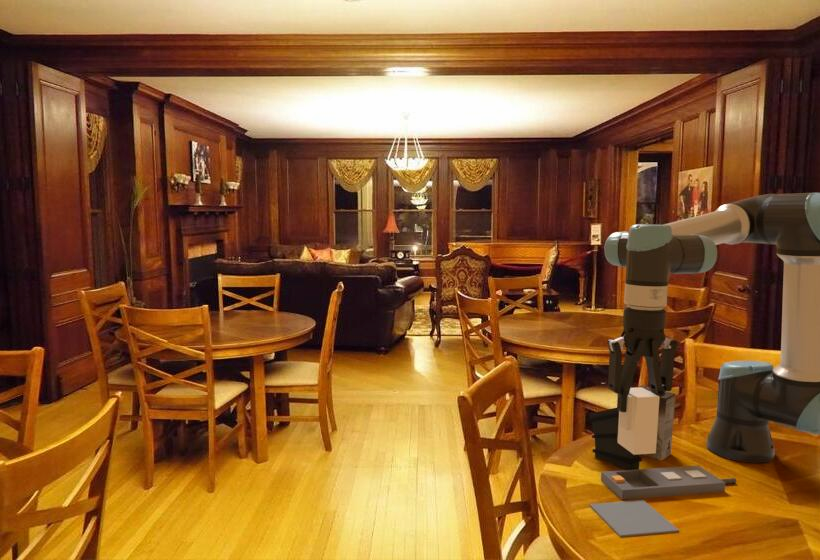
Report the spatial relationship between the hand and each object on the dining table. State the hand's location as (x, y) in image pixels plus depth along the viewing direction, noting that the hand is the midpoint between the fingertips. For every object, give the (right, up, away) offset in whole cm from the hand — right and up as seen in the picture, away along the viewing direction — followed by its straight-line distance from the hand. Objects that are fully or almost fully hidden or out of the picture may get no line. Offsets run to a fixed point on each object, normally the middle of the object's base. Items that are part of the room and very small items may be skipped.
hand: (637, 427), depth 116 cm
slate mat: (0, -19, +2) cm, 19 cm away
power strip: (+14, -17, +17) cm, 28 cm away
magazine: (+5, -16, +29) cm, 34 cm away
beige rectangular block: (0, -4, +1) cm, 4 cm away
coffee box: (+16, -16, +35) cm, 42 cm away
